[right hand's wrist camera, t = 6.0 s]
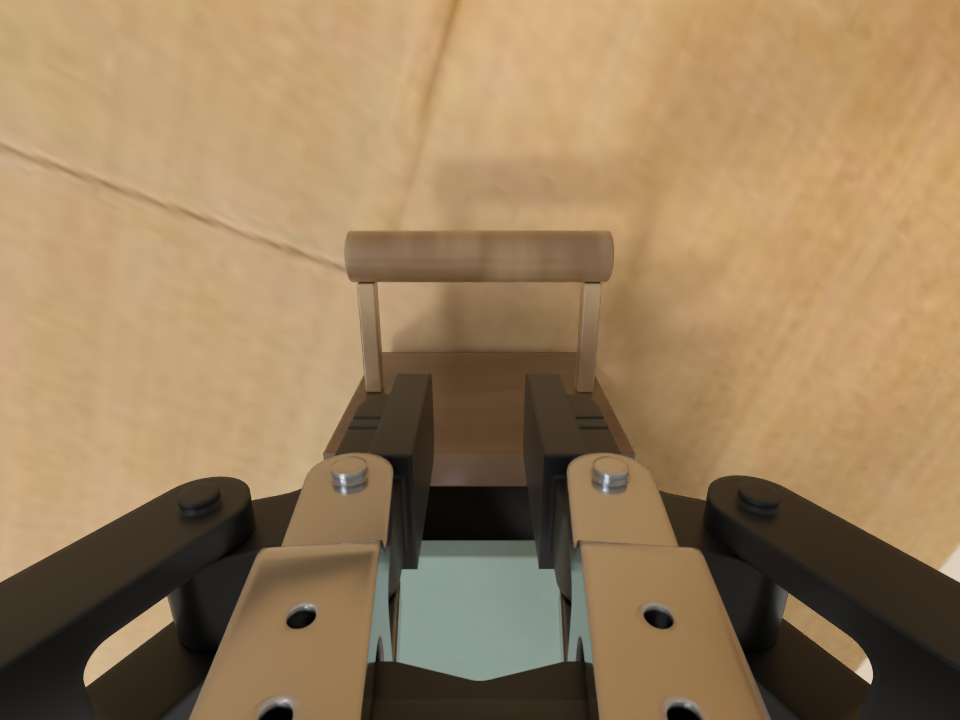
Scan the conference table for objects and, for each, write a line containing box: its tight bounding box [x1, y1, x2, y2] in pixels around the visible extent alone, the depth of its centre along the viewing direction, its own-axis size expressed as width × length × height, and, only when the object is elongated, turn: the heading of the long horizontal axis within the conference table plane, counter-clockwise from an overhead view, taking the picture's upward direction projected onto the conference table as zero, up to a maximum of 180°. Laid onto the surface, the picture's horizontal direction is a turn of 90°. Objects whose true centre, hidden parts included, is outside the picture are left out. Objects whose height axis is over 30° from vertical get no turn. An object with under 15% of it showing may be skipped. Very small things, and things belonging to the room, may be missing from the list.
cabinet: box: [399, 540, 561, 681], centre depth 24 cm, size 20×10×10 cm, turn 0°
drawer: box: [323, 231, 635, 540], centre depth 22 cm, size 24×9×9 cm, turn 0°
